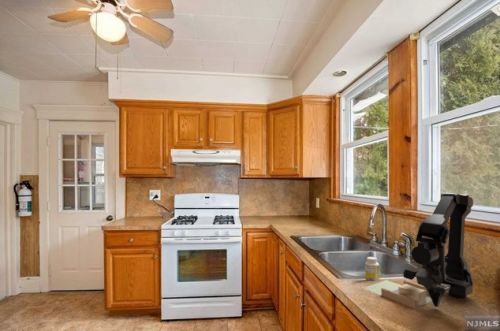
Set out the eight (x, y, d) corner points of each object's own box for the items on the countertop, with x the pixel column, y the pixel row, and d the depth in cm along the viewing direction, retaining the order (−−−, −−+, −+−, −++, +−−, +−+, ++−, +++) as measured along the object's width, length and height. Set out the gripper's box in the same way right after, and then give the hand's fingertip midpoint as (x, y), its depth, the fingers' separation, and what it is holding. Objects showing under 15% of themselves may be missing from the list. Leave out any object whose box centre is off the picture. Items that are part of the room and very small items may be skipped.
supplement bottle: (374, 279, 120) (374, 255, 121) (382, 283, 115) (381, 259, 115) (363, 279, 120) (362, 256, 120) (369, 284, 114) (369, 260, 115)
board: (438, 301, 98) (438, 290, 98) (415, 313, 90) (414, 301, 90) (386, 283, 115) (386, 274, 115) (362, 291, 107) (362, 281, 107)
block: (398, 297, 98) (398, 286, 98) (406, 294, 101) (405, 283, 101) (418, 305, 92) (418, 293, 92) (426, 302, 95) (426, 290, 95)
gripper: (394, 256, 94) (395, 301, 93) (456, 271, 78) (458, 326, 78) (410, 251, 100) (412, 294, 99) (472, 265, 84) (474, 316, 83)
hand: (436, 306), depth 90 cm, fingers closed
